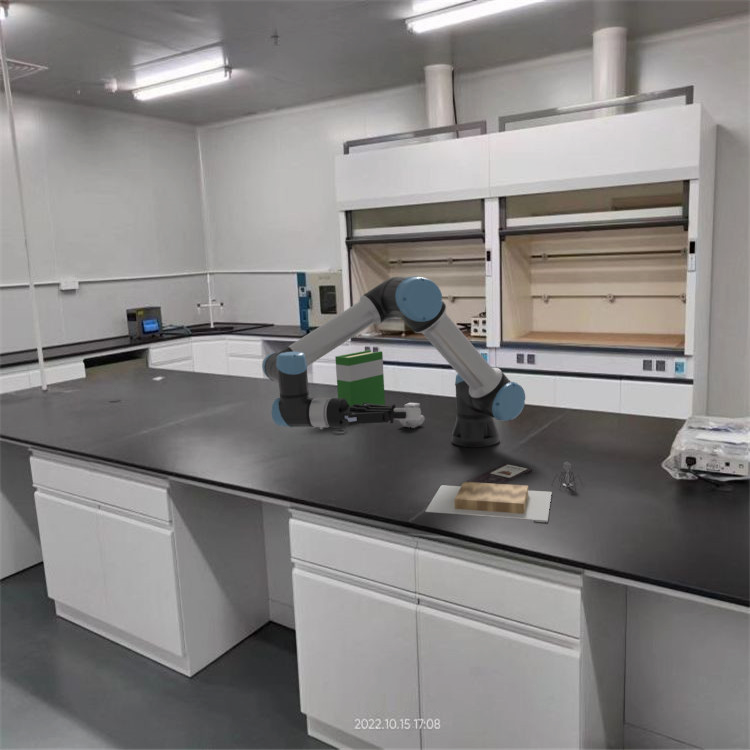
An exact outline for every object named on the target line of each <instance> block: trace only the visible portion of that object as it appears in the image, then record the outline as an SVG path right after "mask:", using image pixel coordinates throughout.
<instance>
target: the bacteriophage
mask: <svg viewBox="0 0 750 750" xmlns="http://www.w3.org/2000/svg"><path fill="white" fill-rule="evenodd" d="M562 469H564V470H565V471H564V472H563V471H561V472H560V473H561V474H560V476H559V475H558V474H556V476H555V477H554V479H553V482H552V484H551V485H553V484H554V482H555V479H556V477H558V479H559V480H558V481H559V482H560V484H559V485H560V486H559V489H561V487H563V486H565V487H564V488H568V487H570V486H573V485H574V486H573V487H574V491H577V488H576V484H575V483H573V482H574V481H575V482H576V480H575V479H576V478H577V477H578V478H579V481H580V483H581V485H582V486H583V483H582V480H581V479H580V476H579V475H578V474H577V476H575V475H574V472H573V471H572V472H570V469H572V463H570V462H568V461H565V462H563V467H562ZM571 478H572V479H571ZM560 480H561V481H560ZM562 482H563V483H562ZM572 483H573V484H572ZM562 485H563V486H562ZM570 488H571V487H570Z"/></svg>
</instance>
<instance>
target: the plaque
mask: <svg viewBox="0 0 750 750" xmlns="http://www.w3.org/2000/svg"><path fill="white" fill-rule="evenodd" d="M528 490H529V485H526V484H525V485H523V484H510V483H509V484H508V483H505V484H493V483H476V482H467V481H463V482H462V484H461V488H460V490H459V492H458V494H457V495H456V497H455V509H466V510H480V511H494V512H508V513H522V514H524V510H525V506H526V502H527V498H528Z"/></svg>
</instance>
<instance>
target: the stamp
mask: <svg viewBox="0 0 750 750" xmlns="http://www.w3.org/2000/svg"><path fill="white" fill-rule="evenodd" d="M420 406H421V403H419V402H408V403H406V404H404V405H403V408H421V407H420ZM425 419H426V417H425V416H424V415H423V414H421V420H398V421H399V422H400V424H401V425H402V426H403V427H406V428H410V427H411V428H412V429H415V428H417V427H420V426H421V425H422V424H423V423H424V422H425Z"/></svg>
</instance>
